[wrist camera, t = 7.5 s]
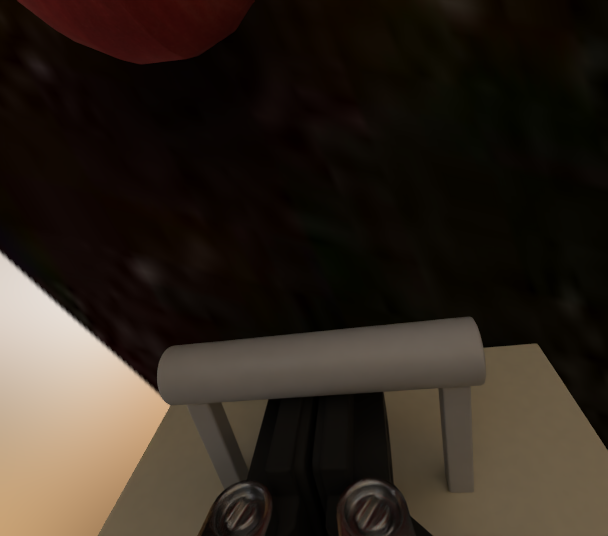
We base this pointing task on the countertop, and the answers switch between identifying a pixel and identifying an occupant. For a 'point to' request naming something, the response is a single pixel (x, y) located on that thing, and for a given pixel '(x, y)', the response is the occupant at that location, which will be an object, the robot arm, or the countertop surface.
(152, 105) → the countertop surface
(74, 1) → the onion
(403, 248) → the countertop surface
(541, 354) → the drawer
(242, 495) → the robot arm
